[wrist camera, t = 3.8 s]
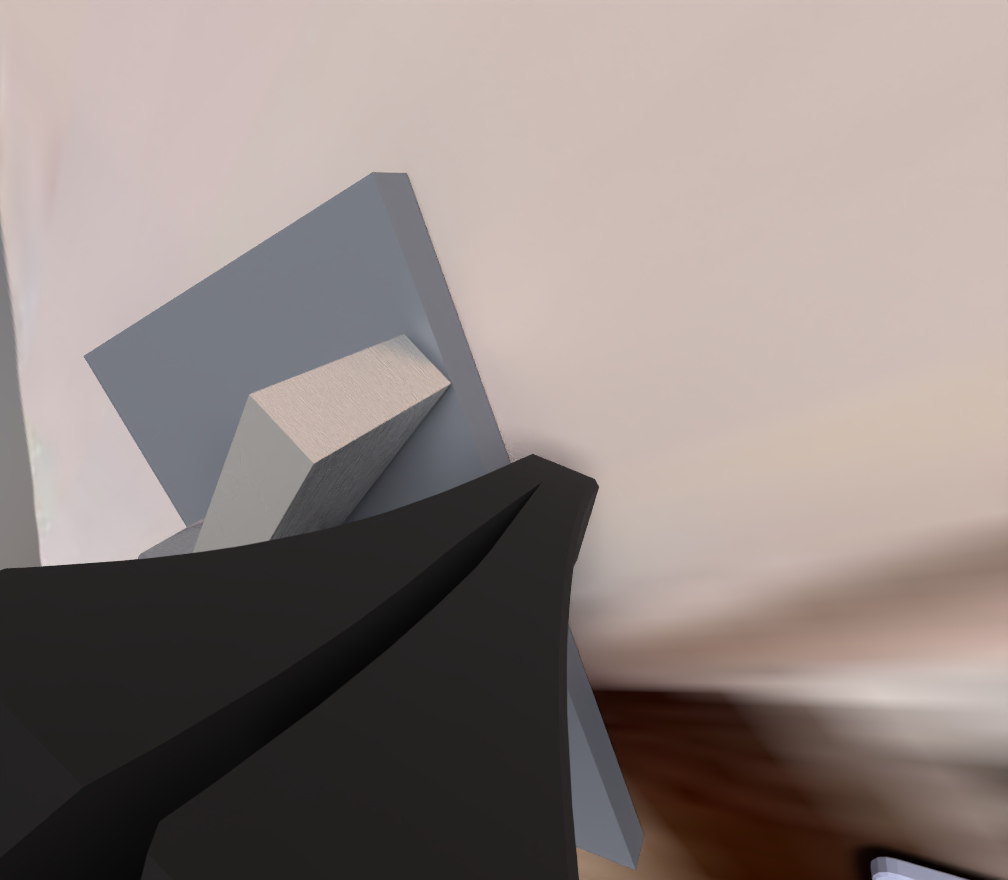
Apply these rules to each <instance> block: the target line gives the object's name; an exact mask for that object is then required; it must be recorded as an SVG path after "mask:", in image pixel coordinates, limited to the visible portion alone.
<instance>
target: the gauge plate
mask: <svg viewBox="0 0 1008 880" xmlns="http://www.w3.org/2000/svg"><path fill="white" fill-rule="evenodd" d="M403 334H405V335H406V336H407V337H408V338H409V339H410V340H411V341H412V342H413V344H414V345H415V346H416V347H417V348H418V349H419V350H420V351H421V352H422V353H423V354H424V355H425V356H426V357H427V358H428V359H429V360H430V361H431V362H432V363H433V365H434V366H435V367H436V368H437V369H438V370H439V371H440V372H441V373H442V374H443V375H444V376H445V377H446V378H447V379H448V380H449V381H450V382H451V384H450V386H449V387H448V388H447V389H446V391H445V392H444V393H443V395H442V396H441V397H440V398H439V400H438V401H437V402H436V404H435V405H434V406H433V408H432V409H431V410H430V411H429V413H428V414H427V415H426V417H425V418H424V419H423V421H422V422H421V423H420V424H419V426H418V427H417V428H416V430H415V431H414V432H413V433H412V435H411V436H410V437H409V439H408V440H407V441H406V443H405V444H404V445H403V446H402V448H401V449H400V450H399V452H398V453H397V454H396V455H395V457H394V458H393V459H392V461H391V462H390V463H389V465H388V466H387V467H386V468H385V470H384V471H383V472H382V474H381V475H380V476H379V478H378V479H377V480H376V481H375V483H374V484H373V485H372V487H371V488H370V489H369V490H368V492H367V493H366V494H365V496H364V497H363V498H362V500H361V501H360V502H359V503H358V505H357V506H356V507H355V509H354V510H353V511H352V512H351V514H350V515H349V516H348V518H347V519H346V520H345V522H344V523H343V524H346V523H350V522H354V521H358V520H362V519H365V518H368V517H372V516H375V515H379V514H382V513H385V512H388V511H391V510H394V509H397V508H400V507H403V506H406V505H408V504H411V503H414V502H417V501H420V500H422V499H425V498H428V497H431V496H434V495H437V494H439V493H442V492H444V491H447V490H449V489H452V488H454V487H457V486H459V485H462V484H464V483H466V482H469V481H471V480H474V479H476V478H478V477H481V476H483V475H485V474H488V473H490V472H492V471H495V470H497V469H499V468H501V467H504V466H506V465H508V464H511V463H510V460H509V457H508V455H507V452H506V449H505V446H504V443H503V441H502V438H501V435H500V432H499V430H498V427H497V424H496V421H495V418H494V416H493V413H492V410H491V407H490V404H489V402H488V399H487V396H486V393H485V390H484V388H483V385H482V382H481V379H480V376H479V374H478V371H477V368H476V365H475V363H474V360H473V357H472V354H471V351H470V349H469V346H468V343H467V340H466V337H465V335H464V332H463V329H462V326H461V323H460V321H459V318H458V315H457V312H456V309H455V307H454V304H453V301H452V298H451V296H450V293H449V290H448V287H447V284H446V282H445V279H444V276H443V273H442V270H441V268H440V265H439V262H438V259H437V256H436V254H435V251H434V248H433V245H432V242H431V240H430V237H429V234H428V231H427V229H426V226H425V223H424V220H423V217H422V215H421V212H420V209H419V206H418V203H417V201H416V198H415V195H414V192H413V189H412V187H411V184H410V181H409V178H408V175H407V173H377V172H372V173H371V174H369V175H368V176H366V177H365V178H363V179H361V180H360V181H358V182H357V183H355V184H353V185H352V186H350V187H349V188H347V189H346V190H344V191H342V192H341V193H339V194H338V195H336V196H335V197H333V198H331V199H330V200H328V201H327V202H325V203H324V204H322V205H320V206H319V207H317V208H316V209H314V210H313V211H311V212H309V213H308V214H306V215H305V216H303V217H302V218H300V219H298V220H297V221H295V222H294V223H292V224H291V225H289V226H287V227H286V228H284V229H283V230H281V231H280V232H278V233H276V234H275V235H273V236H272V237H270V238H269V239H267V240H265V241H264V242H262V243H261V244H259V245H258V246H256V247H254V248H253V249H251V250H250V251H248V252H247V253H245V254H243V255H242V256H240V257H239V258H237V259H235V260H234V261H232V262H231V263H229V264H228V265H226V266H224V267H223V268H221V269H220V270H218V271H217V272H215V273H213V274H212V275H210V276H209V277H207V278H206V279H204V280H202V281H201V282H199V283H198V284H196V285H195V286H193V287H191V288H190V289H188V290H187V291H185V292H184V293H182V294H180V295H179V296H177V297H176V298H174V299H173V300H171V301H169V302H168V303H166V304H165V305H163V306H162V307H160V308H158V309H157V310H155V311H154V312H152V313H151V314H149V315H147V316H146V317H144V318H143V319H141V320H140V321H138V322H136V323H135V324H133V325H132V326H130V327H129V328H127V329H125V330H124V331H122V332H121V333H119V334H117V335H116V336H114V337H113V338H111V339H110V340H108V341H106V342H105V343H103V344H102V345H100V346H99V347H97V348H95V349H94V350H92V351H91V352H89V353H88V354H86V355H84V358H85V359H86V361H87V363H88V364H89V366H90V368H91V369H92V371H93V373H94V374H95V376H96V377H97V379H98V381H99V382H100V384H101V386H102V387H103V389H104V391H105V392H106V394H107V396H108V397H109V399H110V401H111V402H112V404H113V406H114V407H115V409H116V411H117V412H118V414H119V416H120V417H121V419H122V421H123V422H124V424H125V426H126V427H127V429H128V431H129V432H130V434H131V435H132V437H133V439H134V440H135V442H136V444H137V445H138V447H139V449H140V450H141V452H142V454H143V455H144V457H145V459H146V460H147V462H148V464H149V465H150V467H151V469H152V470H153V472H154V474H155V475H156V477H157V479H158V480H159V482H160V484H161V485H162V487H163V488H164V490H165V492H166V493H167V495H168V497H169V498H170V500H171V502H172V503H173V505H174V507H175V508H176V510H177V512H178V513H179V515H180V517H181V518H182V520H183V522H184V523H185V525H186V527H189V526H191V525H192V524H194V523H196V522H198V521H199V520H201V519H203V518H205V517H206V514H207V511H208V508H209V506H210V503H211V500H212V497H213V494H214V492H215V489H216V486H217V483H218V480H219V478H220V475H221V472H222V469H223V466H224V464H225V461H226V458H227V455H228V452H229V450H230V447H231V444H232V441H233V438H234V436H235V433H236V430H237V427H238V424H239V421H240V419H241V416H242V413H243V410H244V407H245V405H246V402H247V399H248V396H249V394H251V393H254V392H257V391H259V390H262V389H264V388H267V387H269V386H272V385H275V384H277V383H280V382H282V381H285V380H287V379H290V378H293V377H295V376H298V375H300V374H303V373H305V372H308V371H311V370H313V369H316V368H318V367H321V366H323V365H326V364H329V363H331V362H334V361H336V360H339V359H341V358H344V357H346V356H349V355H352V354H354V353H357V352H359V351H362V350H364V349H367V348H370V347H372V346H375V345H377V344H380V343H382V342H385V341H388V340H390V339H393V338H395V337H398V336H400V335H403ZM567 717H568V735H569V754H570V772H571V791H572V808H573V819H574V830H575V842H576V847H578V848H580V849H583V850H586V851H588V852H591V853H593V854H596V855H598V856H601V857H603V858H606V859H608V860H611V861H613V862H616V863H618V864H621V865H623V866H626V867H628V868H631V869H633V870H636V868H637V864H638V860H639V855H640V851H641V847H642V842H643V838H644V834H643V832H642V829H641V826H640V823H639V820H638V818H637V815H636V812H635V809H634V806H633V804H632V801H631V798H630V795H629V792H628V790H627V787H626V784H625V781H624V779H623V776H622V773H621V770H620V767H619V765H618V762H617V759H616V756H615V753H614V751H613V748H612V745H611V742H610V739H609V737H608V734H607V731H606V728H605V725H604V723H603V720H602V717H601V714H600V712H599V709H598V706H597V703H596V700H595V698H594V695H593V692H592V689H591V686H590V684H589V681H588V678H587V675H586V672H585V670H584V667H583V664H582V661H581V658H580V656H579V653H578V650H577V647H576V644H575V642H574V639H573V636H572V633H571V631H570V628H569V625H568V640H567Z"/></svg>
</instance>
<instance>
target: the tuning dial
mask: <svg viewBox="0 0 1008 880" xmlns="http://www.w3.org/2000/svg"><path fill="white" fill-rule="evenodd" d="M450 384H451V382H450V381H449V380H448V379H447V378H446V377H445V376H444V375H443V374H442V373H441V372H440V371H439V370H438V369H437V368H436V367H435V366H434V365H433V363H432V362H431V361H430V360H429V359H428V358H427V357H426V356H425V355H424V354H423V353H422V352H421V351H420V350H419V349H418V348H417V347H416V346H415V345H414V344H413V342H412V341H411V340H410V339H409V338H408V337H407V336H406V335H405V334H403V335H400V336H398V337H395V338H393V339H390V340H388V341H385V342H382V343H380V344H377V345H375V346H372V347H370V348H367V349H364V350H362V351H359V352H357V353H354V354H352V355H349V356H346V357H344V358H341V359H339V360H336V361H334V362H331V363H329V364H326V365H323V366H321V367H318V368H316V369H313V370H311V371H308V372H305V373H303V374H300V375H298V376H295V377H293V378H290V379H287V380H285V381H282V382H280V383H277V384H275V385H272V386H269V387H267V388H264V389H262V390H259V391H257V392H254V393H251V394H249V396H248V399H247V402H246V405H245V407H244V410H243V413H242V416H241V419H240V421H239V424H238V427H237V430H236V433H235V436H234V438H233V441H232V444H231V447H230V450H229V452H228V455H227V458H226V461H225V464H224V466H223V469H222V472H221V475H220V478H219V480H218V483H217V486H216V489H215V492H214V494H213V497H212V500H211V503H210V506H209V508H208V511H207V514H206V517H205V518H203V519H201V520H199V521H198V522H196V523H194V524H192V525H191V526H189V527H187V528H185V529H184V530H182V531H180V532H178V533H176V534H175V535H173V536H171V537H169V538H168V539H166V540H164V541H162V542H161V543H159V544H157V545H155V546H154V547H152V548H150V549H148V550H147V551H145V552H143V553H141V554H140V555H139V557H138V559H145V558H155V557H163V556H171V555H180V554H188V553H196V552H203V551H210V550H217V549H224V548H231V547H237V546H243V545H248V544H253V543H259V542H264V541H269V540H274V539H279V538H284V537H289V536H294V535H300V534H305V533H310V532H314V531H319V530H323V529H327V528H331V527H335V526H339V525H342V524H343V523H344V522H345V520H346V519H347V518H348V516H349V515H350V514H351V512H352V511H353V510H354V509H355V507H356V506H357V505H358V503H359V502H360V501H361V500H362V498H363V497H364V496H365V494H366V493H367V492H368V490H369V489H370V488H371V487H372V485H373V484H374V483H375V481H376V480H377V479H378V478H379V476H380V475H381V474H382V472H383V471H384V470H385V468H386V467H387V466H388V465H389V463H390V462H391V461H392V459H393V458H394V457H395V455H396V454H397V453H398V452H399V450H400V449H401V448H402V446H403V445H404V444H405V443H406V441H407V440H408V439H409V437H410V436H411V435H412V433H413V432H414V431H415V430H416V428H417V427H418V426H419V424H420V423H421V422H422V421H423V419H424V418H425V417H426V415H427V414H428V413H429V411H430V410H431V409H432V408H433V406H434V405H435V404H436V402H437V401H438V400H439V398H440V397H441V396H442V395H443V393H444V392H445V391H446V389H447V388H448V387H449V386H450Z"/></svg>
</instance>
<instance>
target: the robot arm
mask: <svg viewBox="0 0 1008 880" xmlns="http://www.w3.org/2000/svg"><path fill="white" fill-rule="evenodd" d="M598 489H599V486H598V484H597V482H596V480H595V479H593V478H591V477H588V476H586V475H583V474H581V473H578V472H576V471H574V470H571V469H569V468H566V467H564V466H561V465H559V464H556V463H554V462H551V461H549V460H546V459H544V458H542V457H539V456H537V455H534V454H532V455H530V456H527V457H525V458H522V459H520V460H518V461H515V462H513V463H511V464H508V465H506V466H504V467H501V468H499V469H497V470H495V471H492V472H490V473H488V474H485V475H483V476H481V477H478V478H476V479H474V480H471V481H469V482H466V483H464V484H462V485H459V486H457V487H454V488H452V489H449V490H447V491H444V492H442V493H439V494H437V495H434V496H431V497H428V498H425V499H422V500H420V501H417V502H414V503H411V504H408V505H406V506H403V507H400V508H397V509H394V510H391V511H388V512H385V513H382V514H379V515H375V516H372V517H368V518H365V519H362V520H358V521H354V522H350V523H346V524H342V525H339V526H335V527H331V528H327V529H323V530H319V531H314V532H310V533H305V534H300V535H294V536H289V537H284V538H279V539H274V540H269V541H264V542H259V543H253V544H248V545H243V546H237V547H231V548H224V549H217V550H210V551H203V552H196V553H188V554H180V555H171V556H163V557H155V558H145V559H135V560H125V561H113V562H99V563H85V564H71V565H57V566H43V567H28V568H9V569H8V568H7V569H3V570H1V571H0V880H579V876H578V864H577V853H576V842H575V830H574V819H573V808H572V791H571V772H570V754H569V735H568V717H567V640H568V619H569V604H570V593H571V582H572V574H573V567H574V565H575V563H576V561H577V558H578V555H579V551H580V548H581V545H582V541H583V538H584V535H585V531H586V528H587V525H588V522H589V518H590V515H591V512H592V508H593V505H594V502H595V499H596V495H597V492H598ZM871 874H872V880H969V879H965V878H962V877H958V876H955V875H951V874H948V873H945V872H941V871H938V870H934V869H931V868H927V867H924V866H921V865H917V864H914V863H910V862H907V861H904V860H900V859H897V858H892V857H887V856H886V857H877V858H876V859H874V860H872V862H871Z"/></svg>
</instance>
